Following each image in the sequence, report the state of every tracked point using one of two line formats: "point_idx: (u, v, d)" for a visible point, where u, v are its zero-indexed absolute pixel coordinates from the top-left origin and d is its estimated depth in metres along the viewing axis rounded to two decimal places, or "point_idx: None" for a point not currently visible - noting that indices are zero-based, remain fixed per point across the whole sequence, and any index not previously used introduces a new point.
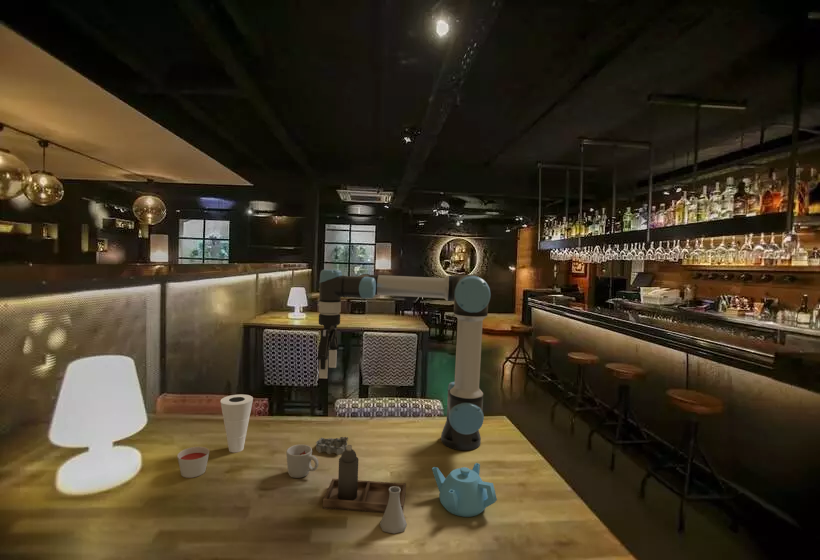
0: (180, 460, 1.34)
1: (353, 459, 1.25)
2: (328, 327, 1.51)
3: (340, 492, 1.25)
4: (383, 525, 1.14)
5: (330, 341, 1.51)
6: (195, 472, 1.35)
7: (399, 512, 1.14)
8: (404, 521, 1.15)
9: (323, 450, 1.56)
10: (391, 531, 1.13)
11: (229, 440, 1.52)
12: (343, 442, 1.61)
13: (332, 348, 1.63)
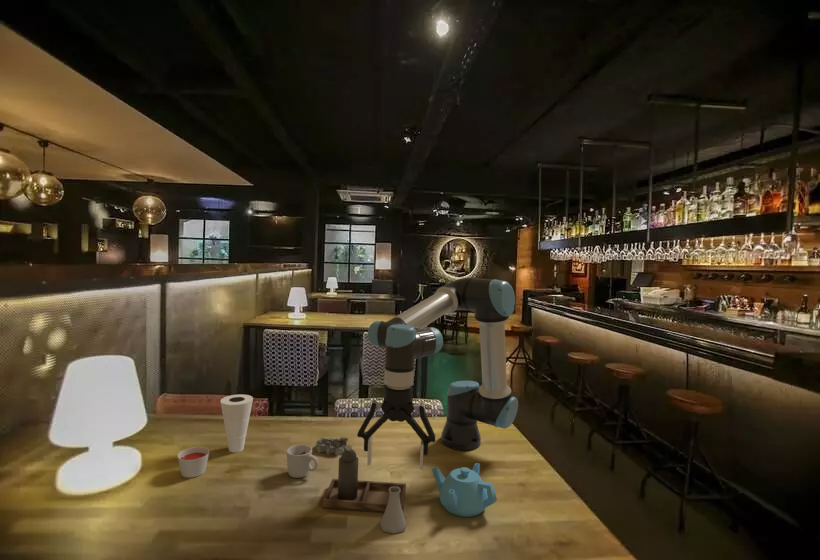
0: (180, 460, 1.34)
1: (353, 459, 1.25)
2: (383, 401, 1.13)
3: (340, 492, 1.25)
4: (383, 525, 1.14)
5: (382, 420, 1.13)
6: (195, 472, 1.35)
7: (399, 512, 1.14)
8: (404, 521, 1.15)
9: (323, 450, 1.56)
10: (391, 531, 1.13)
11: (229, 440, 1.52)
12: (343, 443, 1.60)
13: None
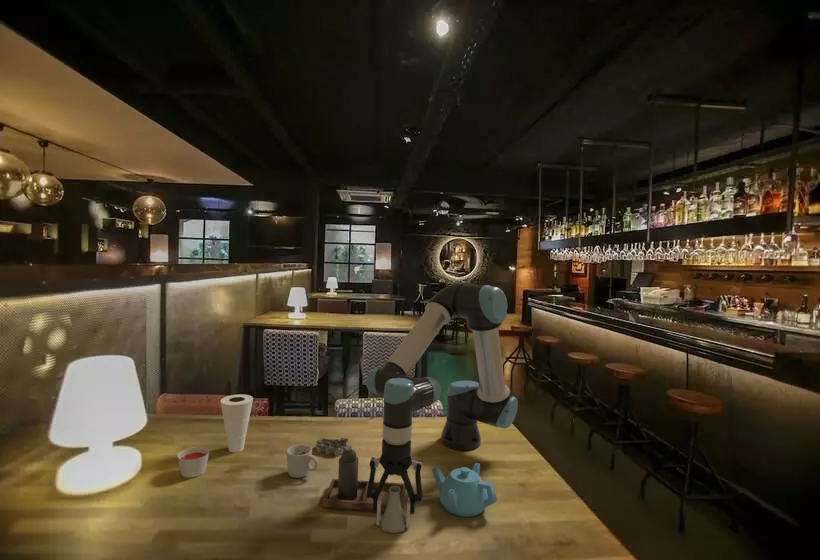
0: (180, 460, 1.34)
1: (353, 459, 1.25)
2: None
3: (340, 492, 1.25)
4: (383, 525, 1.14)
5: (384, 477, 1.14)
6: (195, 472, 1.35)
7: (399, 512, 1.14)
8: (404, 521, 1.15)
9: (322, 450, 1.56)
10: (391, 531, 1.13)
11: (229, 440, 1.52)
12: (343, 443, 1.60)
13: None
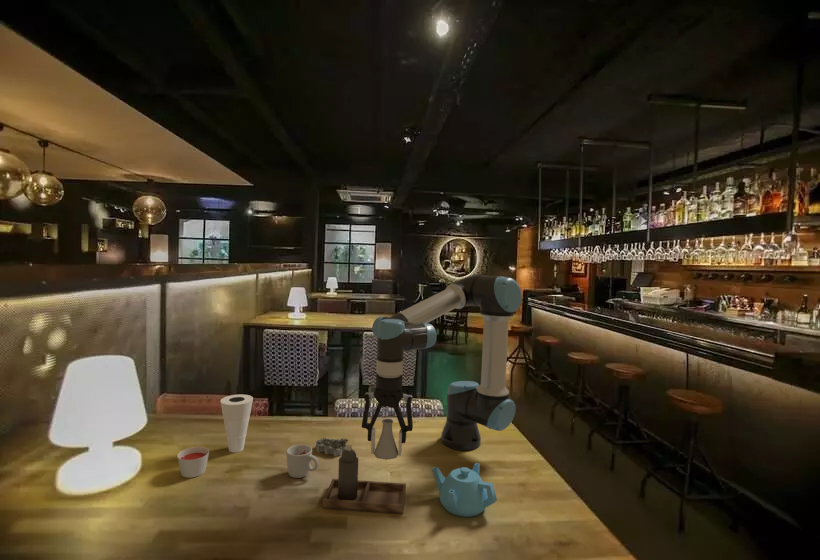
0: (180, 460, 1.34)
1: (353, 459, 1.25)
2: None
3: (340, 492, 1.25)
4: (377, 453, 1.24)
5: (378, 409, 1.24)
6: (195, 472, 1.35)
7: (391, 441, 1.24)
8: (396, 450, 1.25)
9: (322, 450, 1.56)
10: (384, 457, 1.23)
11: (229, 440, 1.52)
12: (344, 444, 1.59)
13: None
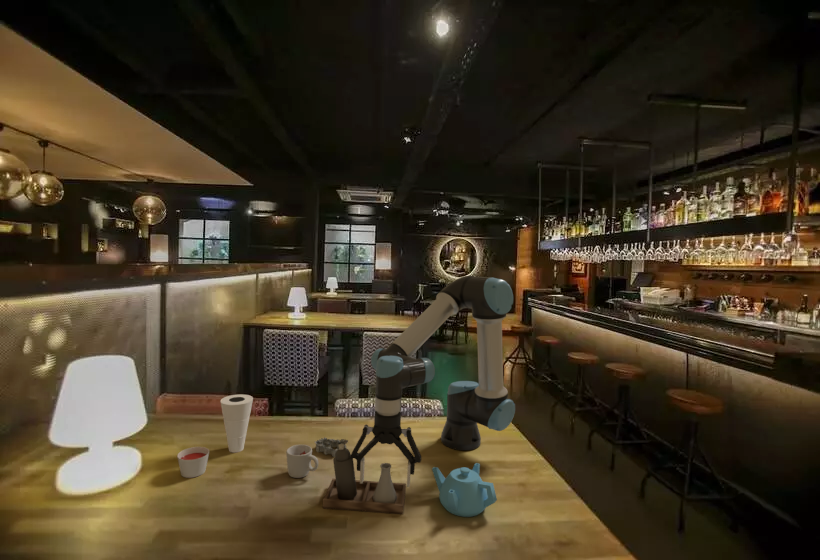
0: (180, 460, 1.34)
1: (347, 457, 1.25)
2: (374, 425, 1.25)
3: (339, 491, 1.25)
4: (375, 498, 1.25)
5: (373, 443, 1.25)
6: (195, 472, 1.35)
7: (389, 486, 1.25)
8: (394, 494, 1.27)
9: (321, 450, 1.56)
10: None
11: (229, 440, 1.52)
12: None
13: None
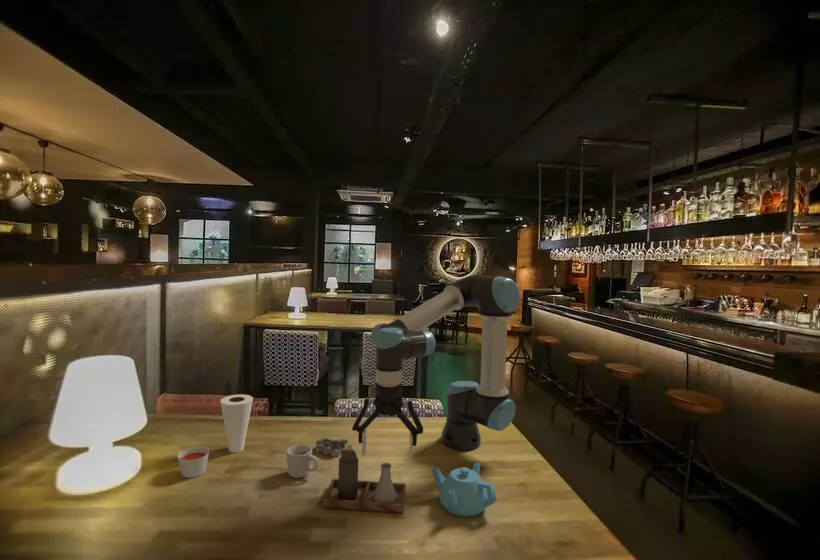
0: (180, 460, 1.34)
1: (353, 459, 1.25)
2: (375, 397, 1.25)
3: (340, 492, 1.25)
4: (375, 498, 1.25)
5: (374, 415, 1.24)
6: (195, 472, 1.35)
7: (389, 486, 1.25)
8: (394, 494, 1.27)
9: (321, 450, 1.56)
10: None
11: (229, 440, 1.52)
12: (343, 445, 1.58)
13: None
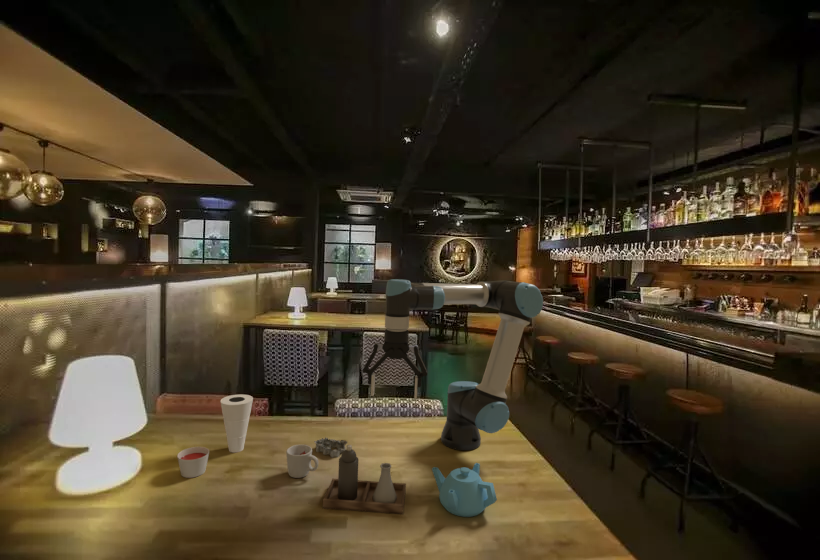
0: (180, 460, 1.34)
1: (353, 459, 1.25)
2: (384, 342, 1.37)
3: (340, 492, 1.25)
4: (375, 498, 1.25)
5: (383, 358, 1.36)
6: (195, 472, 1.35)
7: (389, 486, 1.25)
8: (394, 494, 1.27)
9: (321, 450, 1.56)
10: None
11: (229, 440, 1.52)
12: (343, 445, 1.58)
13: None
